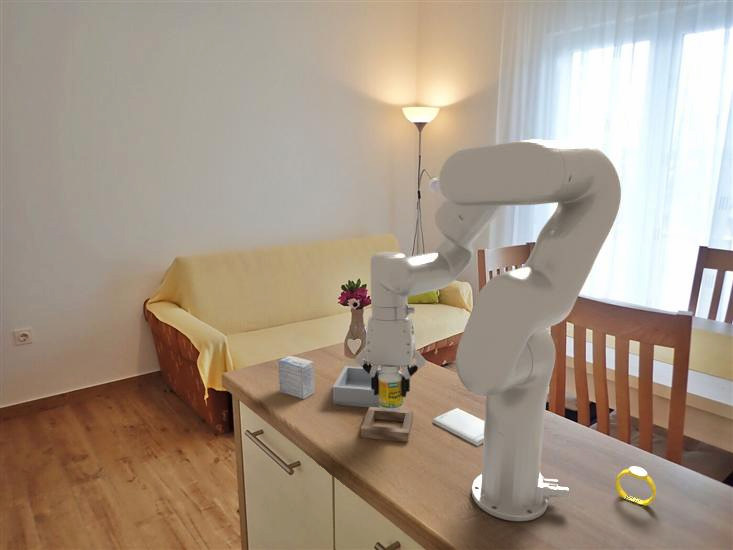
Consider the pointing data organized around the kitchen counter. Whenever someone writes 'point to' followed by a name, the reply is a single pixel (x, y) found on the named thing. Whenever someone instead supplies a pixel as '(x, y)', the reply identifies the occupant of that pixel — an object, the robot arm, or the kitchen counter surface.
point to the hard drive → (462, 425)
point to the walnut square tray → (387, 432)
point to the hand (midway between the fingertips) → (390, 392)
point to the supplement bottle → (390, 388)
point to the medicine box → (296, 377)
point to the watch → (638, 474)
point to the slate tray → (354, 388)
